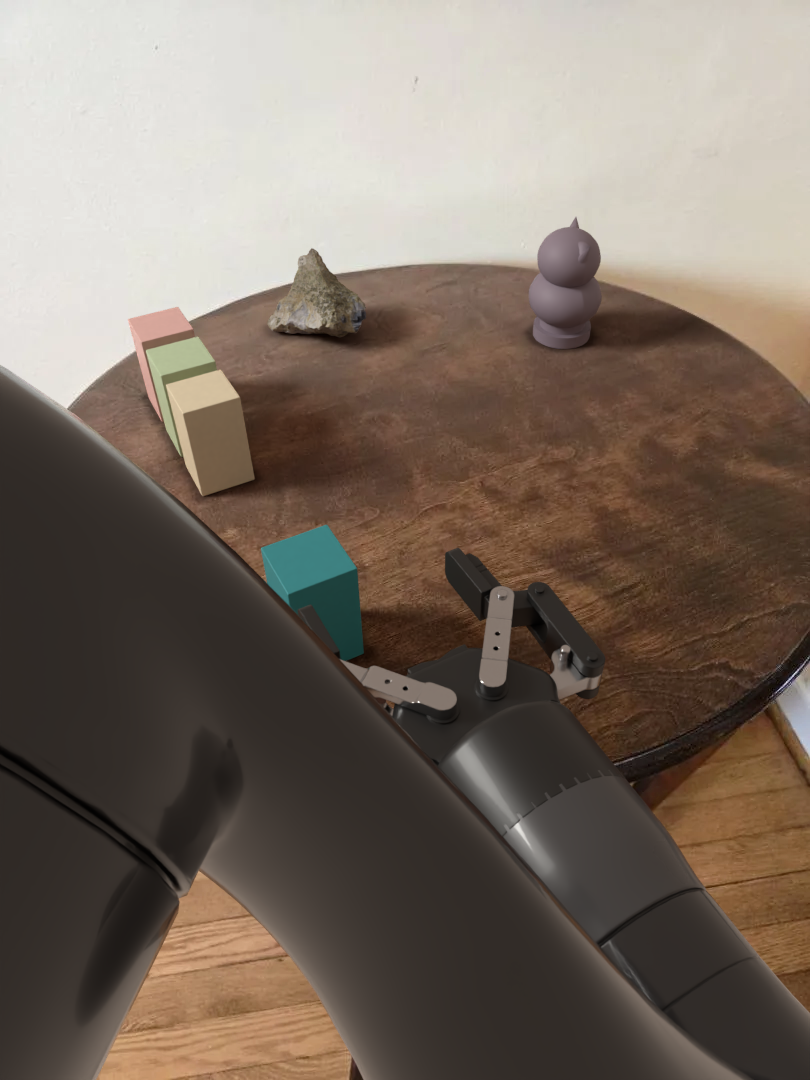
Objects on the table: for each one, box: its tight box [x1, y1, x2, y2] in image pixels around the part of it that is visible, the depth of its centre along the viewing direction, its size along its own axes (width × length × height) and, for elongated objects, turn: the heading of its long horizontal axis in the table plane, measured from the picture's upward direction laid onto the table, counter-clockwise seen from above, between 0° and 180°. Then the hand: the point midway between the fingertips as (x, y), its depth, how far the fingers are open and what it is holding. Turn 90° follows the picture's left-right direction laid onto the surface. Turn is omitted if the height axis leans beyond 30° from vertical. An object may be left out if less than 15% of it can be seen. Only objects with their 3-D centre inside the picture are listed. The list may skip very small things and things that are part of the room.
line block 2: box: [146, 336, 218, 458], centre depth 79 cm, size 5×5×9 cm
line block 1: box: [127, 306, 196, 423], centre depth 83 cm, size 5×5×9 cm
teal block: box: [260, 524, 365, 662], centre depth 60 cm, size 5×5×9 cm
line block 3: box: [166, 369, 256, 497], centre depth 75 cm, size 5×5×9 cm
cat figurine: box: [528, 216, 603, 350], centre depth 91 cm, size 8×8×12 cm
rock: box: [266, 247, 367, 338], centre depth 94 cm, size 11×6×10 cm
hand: (379, 588), depth 44 cm, fingers open, 8 cm apart
